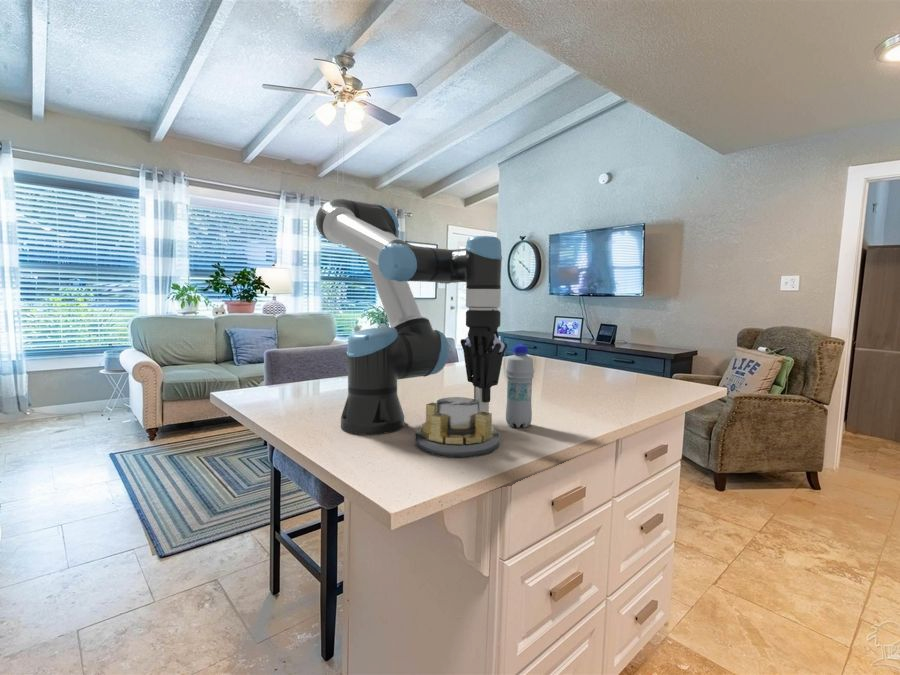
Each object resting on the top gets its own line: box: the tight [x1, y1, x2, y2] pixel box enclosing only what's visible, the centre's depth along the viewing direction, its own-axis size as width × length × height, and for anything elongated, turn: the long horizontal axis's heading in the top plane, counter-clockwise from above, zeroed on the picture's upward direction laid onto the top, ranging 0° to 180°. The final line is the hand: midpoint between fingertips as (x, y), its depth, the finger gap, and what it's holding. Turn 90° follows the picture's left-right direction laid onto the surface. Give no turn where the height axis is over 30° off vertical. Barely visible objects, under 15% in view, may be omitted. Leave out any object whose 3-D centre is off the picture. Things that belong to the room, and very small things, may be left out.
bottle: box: [505, 344, 535, 429], centre depth 110 cm, size 7×7×20 cm
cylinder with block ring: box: [420, 402, 495, 444], centre depth 97 cm, size 15×15×5 cm
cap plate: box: [414, 396, 500, 459], centre depth 97 cm, size 18×18×9 cm
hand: (481, 415), depth 101 cm, fingers closed
